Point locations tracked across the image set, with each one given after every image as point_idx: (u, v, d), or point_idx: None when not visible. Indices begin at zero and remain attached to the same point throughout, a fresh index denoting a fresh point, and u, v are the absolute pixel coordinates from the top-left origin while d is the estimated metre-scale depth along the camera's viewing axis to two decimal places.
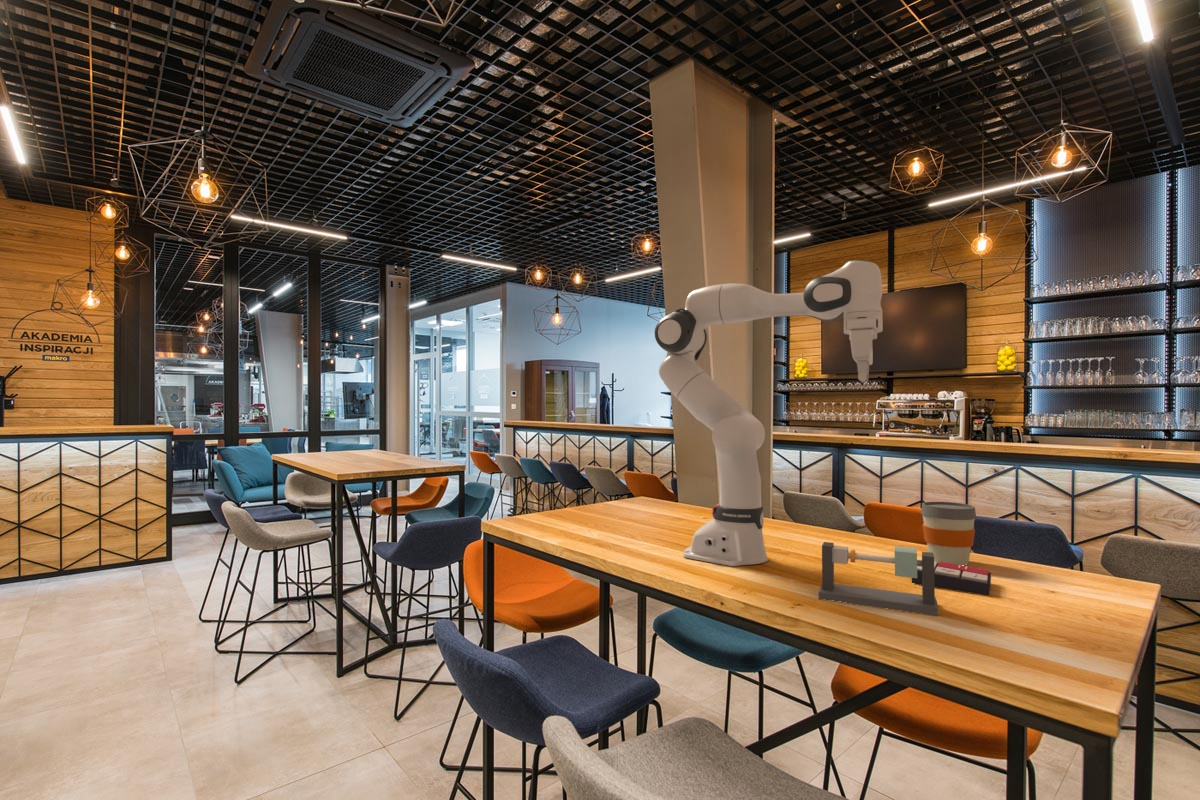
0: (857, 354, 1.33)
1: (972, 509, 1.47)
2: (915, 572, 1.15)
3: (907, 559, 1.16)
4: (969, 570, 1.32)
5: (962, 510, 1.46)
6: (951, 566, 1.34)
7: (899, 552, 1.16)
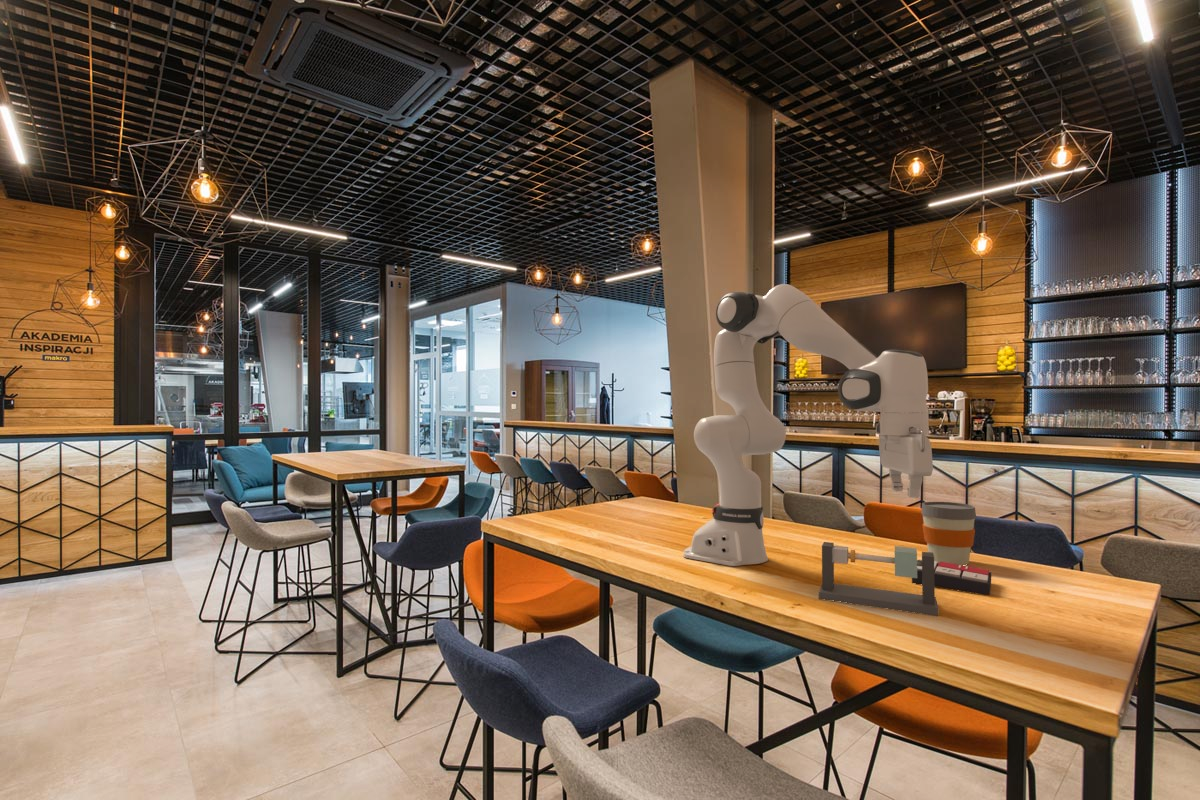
0: None
1: (972, 509, 1.47)
2: (915, 572, 1.15)
3: (907, 559, 1.16)
4: (969, 570, 1.32)
5: (962, 510, 1.46)
6: (951, 566, 1.35)
7: (899, 552, 1.16)
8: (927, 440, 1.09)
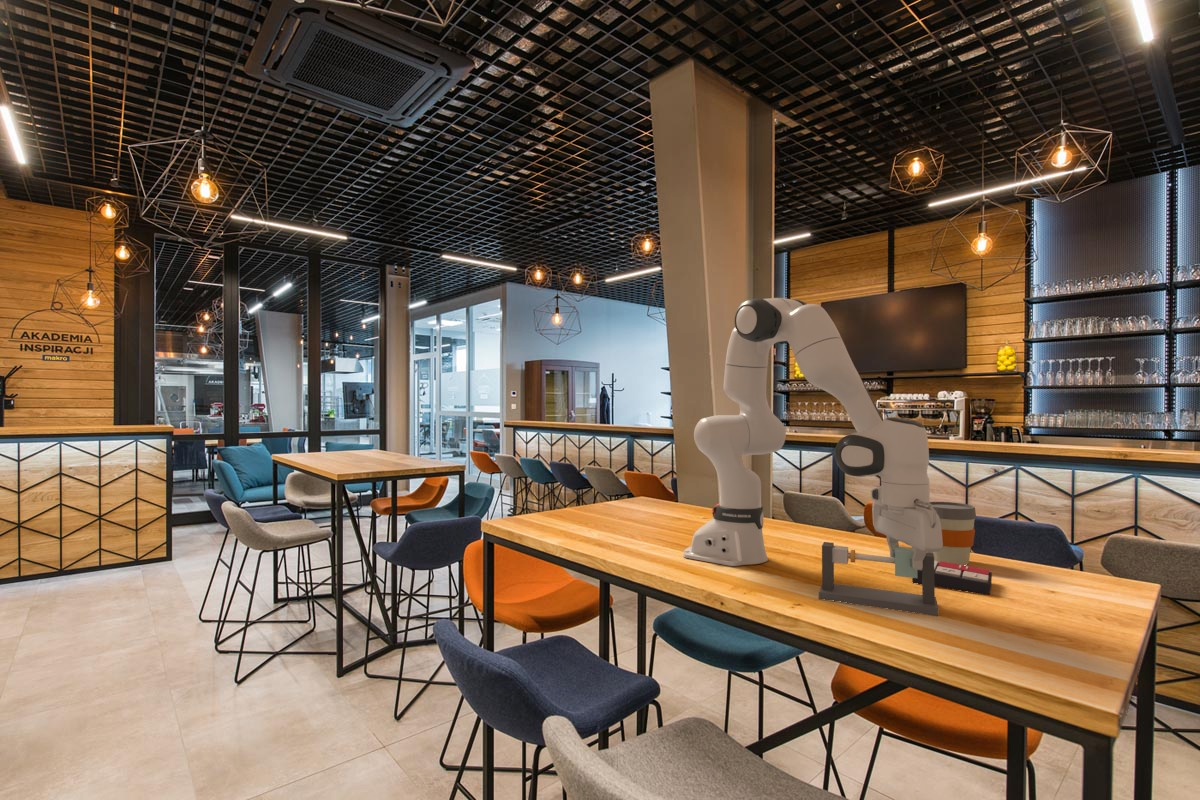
0: None
1: (972, 509, 1.47)
2: (915, 572, 1.15)
3: (907, 559, 1.16)
4: (970, 570, 1.32)
5: (962, 510, 1.46)
6: (952, 566, 1.35)
7: (899, 552, 1.16)
8: (936, 515, 1.09)
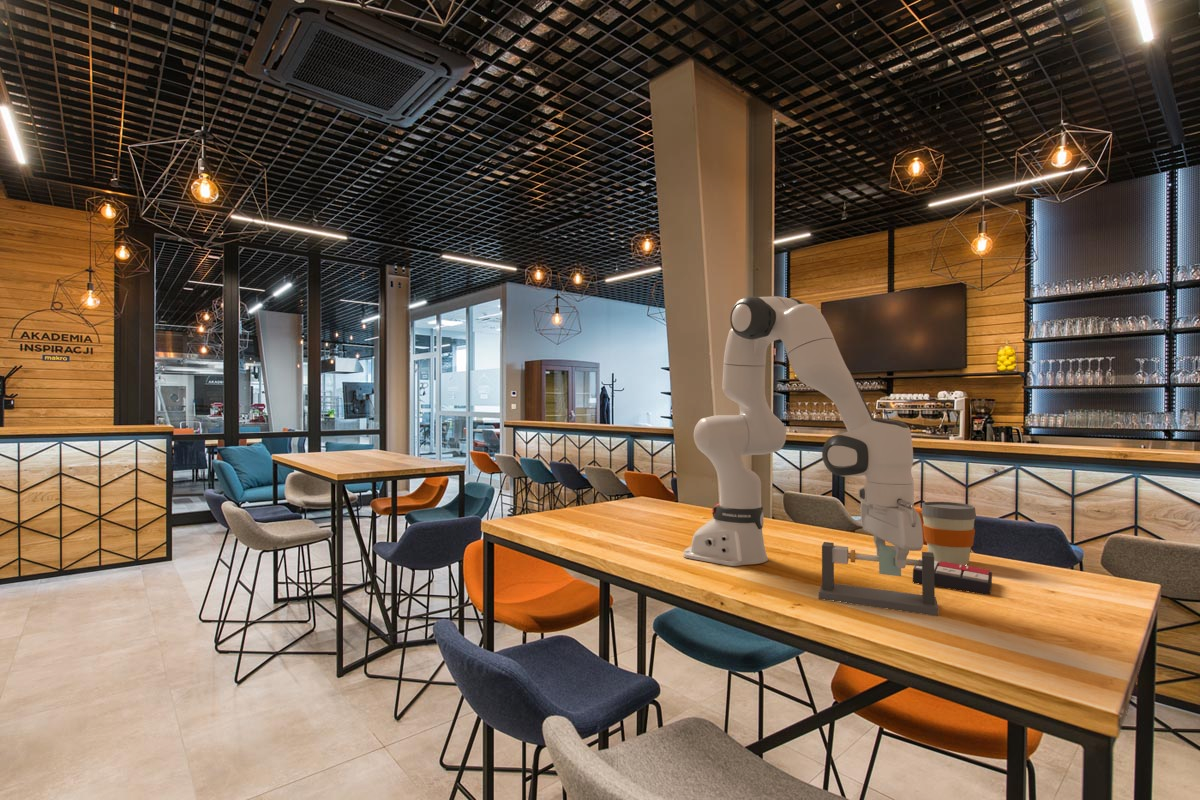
0: None
1: (972, 509, 1.47)
2: (899, 570, 1.16)
3: (891, 557, 1.17)
4: (970, 570, 1.32)
5: (962, 510, 1.46)
6: (952, 566, 1.35)
7: (883, 550, 1.18)
8: (917, 515, 1.11)
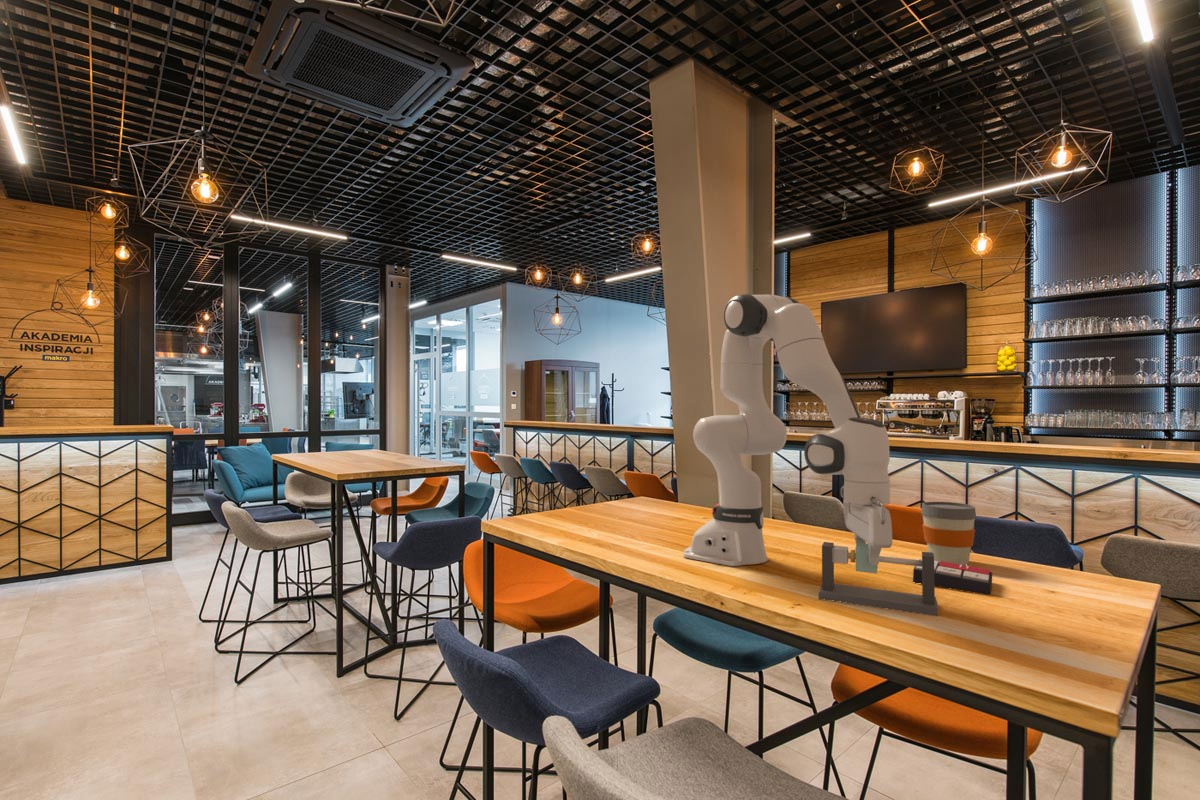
0: None
1: (972, 509, 1.47)
2: (875, 567, 1.18)
3: None
4: (970, 570, 1.32)
5: (962, 510, 1.46)
6: (952, 565, 1.35)
7: (860, 548, 1.20)
8: (887, 512, 1.12)
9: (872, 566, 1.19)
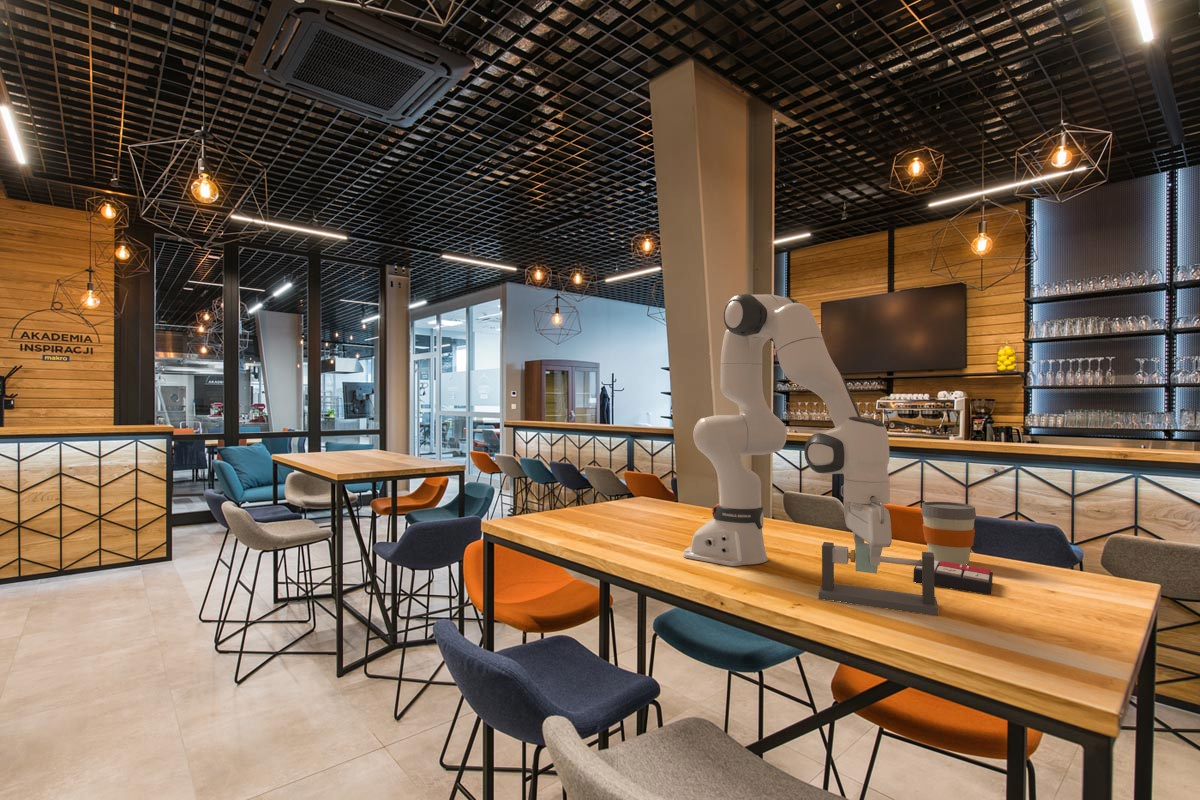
0: None
1: (972, 509, 1.47)
2: (875, 567, 1.18)
3: (867, 555, 1.19)
4: (971, 569, 1.32)
5: (962, 510, 1.46)
6: (953, 565, 1.35)
7: (860, 548, 1.20)
8: (886, 512, 1.13)
9: (872, 566, 1.19)
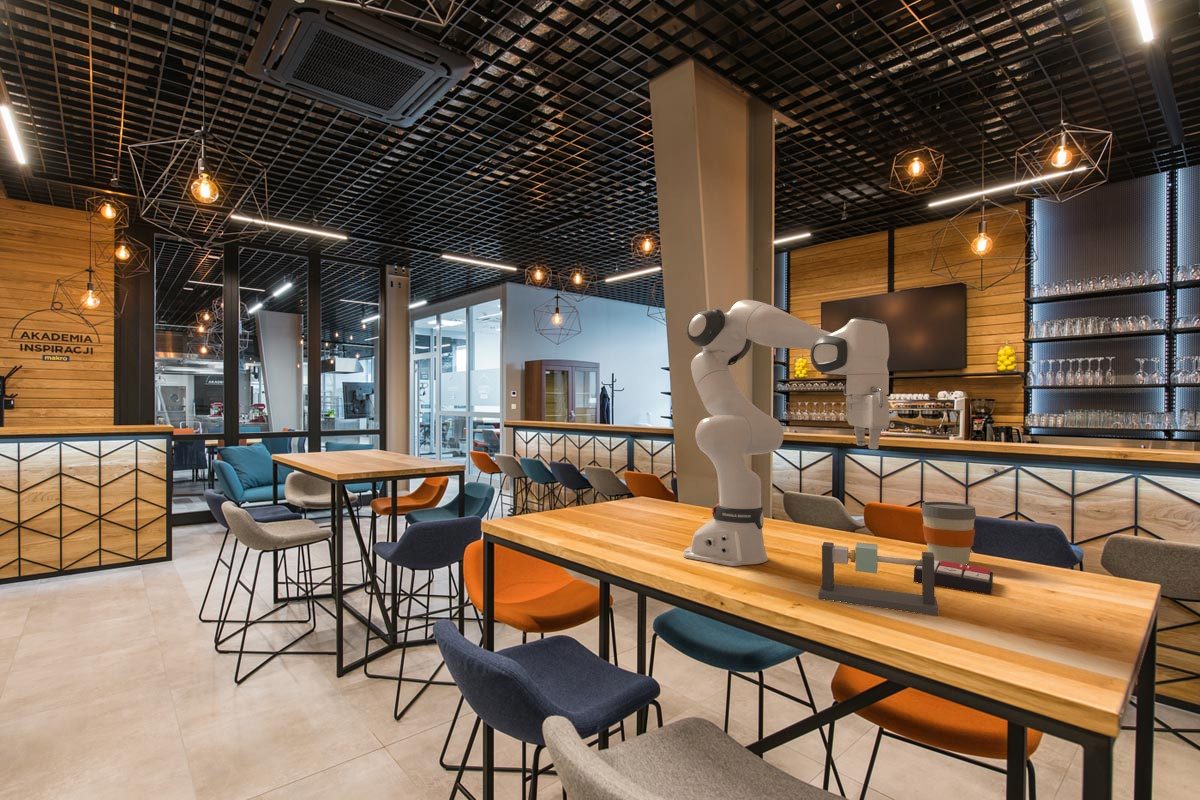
0: None
1: (972, 509, 1.47)
2: (875, 567, 1.18)
3: (867, 555, 1.19)
4: (971, 569, 1.33)
5: (962, 510, 1.46)
6: (953, 565, 1.35)
7: (860, 548, 1.20)
8: (885, 397, 1.23)
9: (872, 566, 1.19)
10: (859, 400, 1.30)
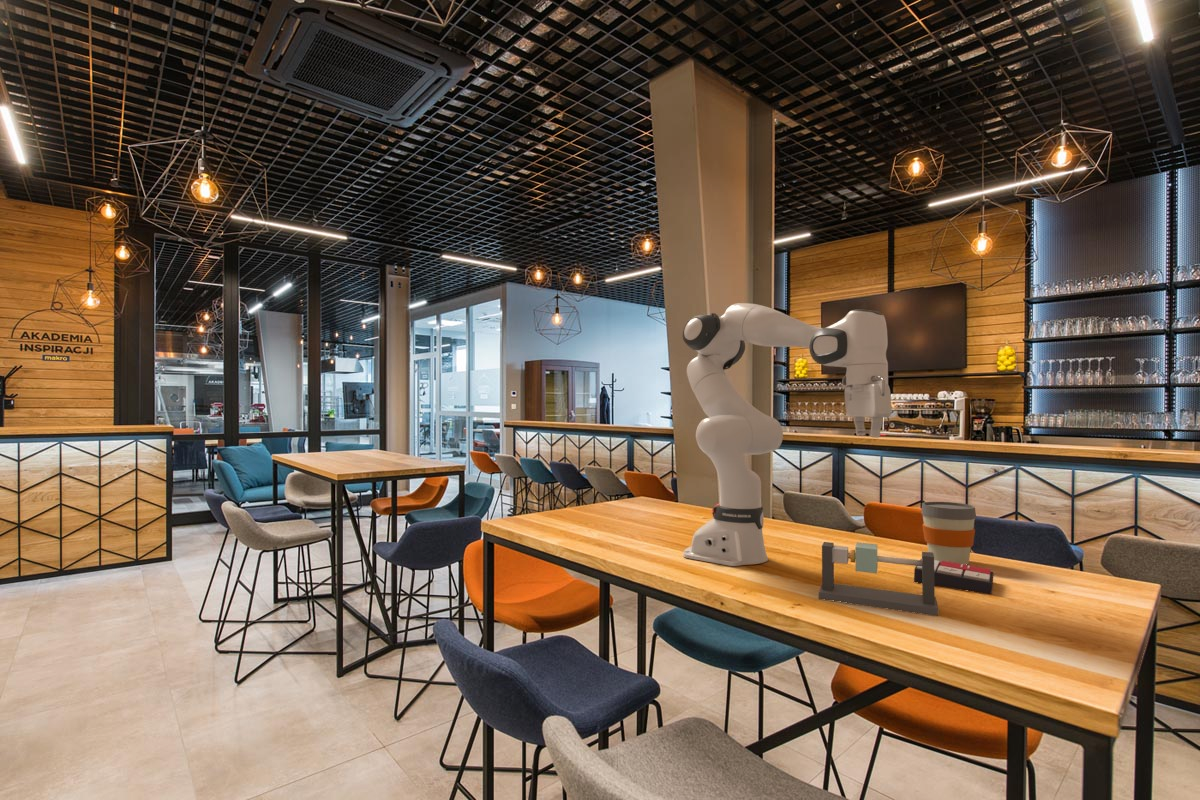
0: None
1: (972, 509, 1.47)
2: (875, 567, 1.18)
3: (867, 555, 1.19)
4: (971, 569, 1.33)
5: (962, 510, 1.46)
6: (953, 565, 1.35)
7: (860, 548, 1.20)
8: (887, 386, 1.25)
9: (872, 566, 1.19)
10: (860, 390, 1.33)
